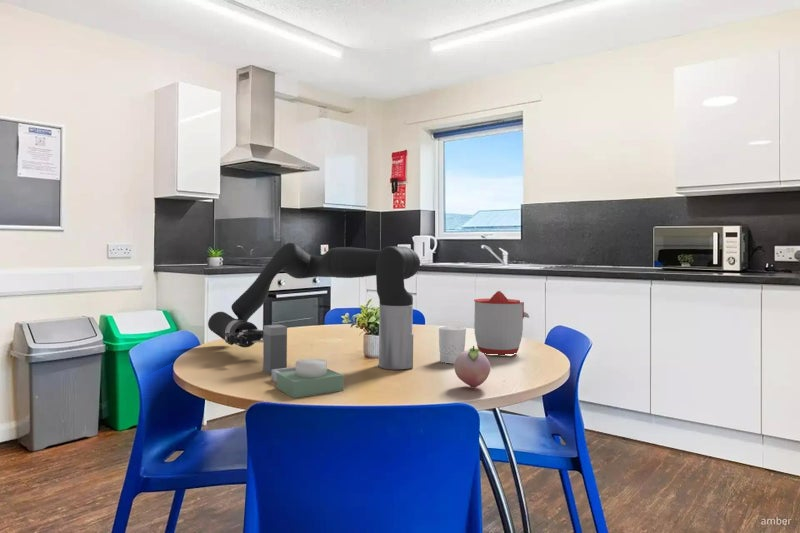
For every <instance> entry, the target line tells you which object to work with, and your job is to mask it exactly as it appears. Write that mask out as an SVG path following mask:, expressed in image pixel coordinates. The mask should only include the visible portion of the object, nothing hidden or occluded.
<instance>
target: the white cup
mask: <svg viewBox="0 0 800 533" xmlns="http://www.w3.org/2000/svg"><path fill="white" fill-rule="evenodd" d="M466 333H467V328H466V327H464V326H461V325H460V326H459V325H458V326H457V325H443V326H442V325H441V326H439V327H438V346H439V347H438V348H439V361H441V362H440V363H442V362H445V363H444V364H446V363H455V360H456V358H457V356H458V355H459V354H460V353H462V352H464V351H465V346H466Z"/></svg>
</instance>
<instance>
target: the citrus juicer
mask: <svg viewBox="0 0 800 533" xmlns="http://www.w3.org/2000/svg"><path fill="white" fill-rule="evenodd" d="M473 302H474V325H473V327H474V336H475V341H476V346H477V349H479V350H480V352H482V353H486V354H498V355H505V354H514V353H518V351H519V350H520V345H521V343H522V342H521V341H522V338H523V329H524V318H529V319H530V315H529V313H527V312H526V311H525V302H524V301H522V302H521V300H520V299H513V298H512V299H511V298H510V299H509V298H507V297H506V295H505V294H504V293H503V292H502V291H500V290H497V291H496V292H495V293H494V294H493V295H492V296H491V297H490V298H476V299H474V300H473ZM486 354H485V355H486Z"/></svg>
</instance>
